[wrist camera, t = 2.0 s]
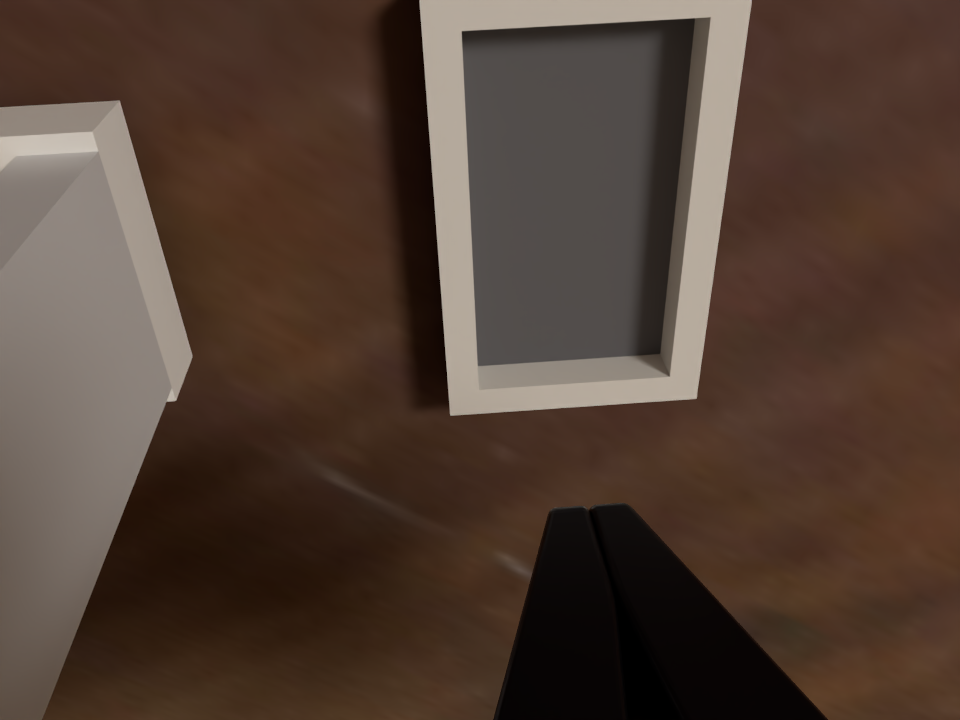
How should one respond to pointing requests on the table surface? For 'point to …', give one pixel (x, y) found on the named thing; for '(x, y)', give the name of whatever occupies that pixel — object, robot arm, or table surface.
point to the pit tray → (578, 193)
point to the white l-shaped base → (72, 372)
